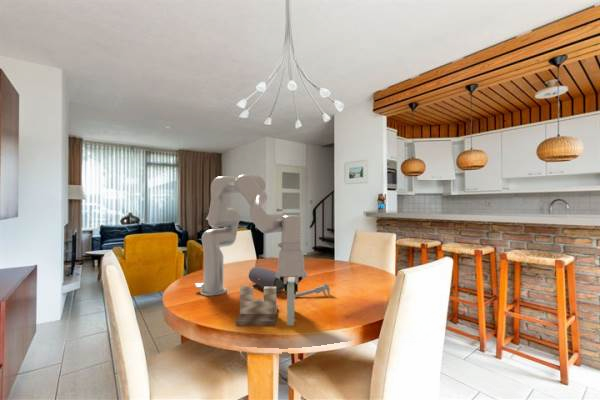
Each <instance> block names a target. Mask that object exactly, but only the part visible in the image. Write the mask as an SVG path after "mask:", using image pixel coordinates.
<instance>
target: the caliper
mask: <svg viewBox="0 0 600 400" xmlns="http://www.w3.org/2000/svg"><path fill="white" fill-rule="evenodd" d="M321 292H322V293H323V295H324V296H327V295H328V296H330V286H329V284H328V283H327V282H326V283H323V285H321V286H316V287H314V288H312V289H308V290H305V291H301V292H296V294H295V299H296V298H300V297H304V296H307V295H310V294H313V293H315V294H316V295H317V294H319V293H321ZM326 292H327V293H326Z"/></svg>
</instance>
